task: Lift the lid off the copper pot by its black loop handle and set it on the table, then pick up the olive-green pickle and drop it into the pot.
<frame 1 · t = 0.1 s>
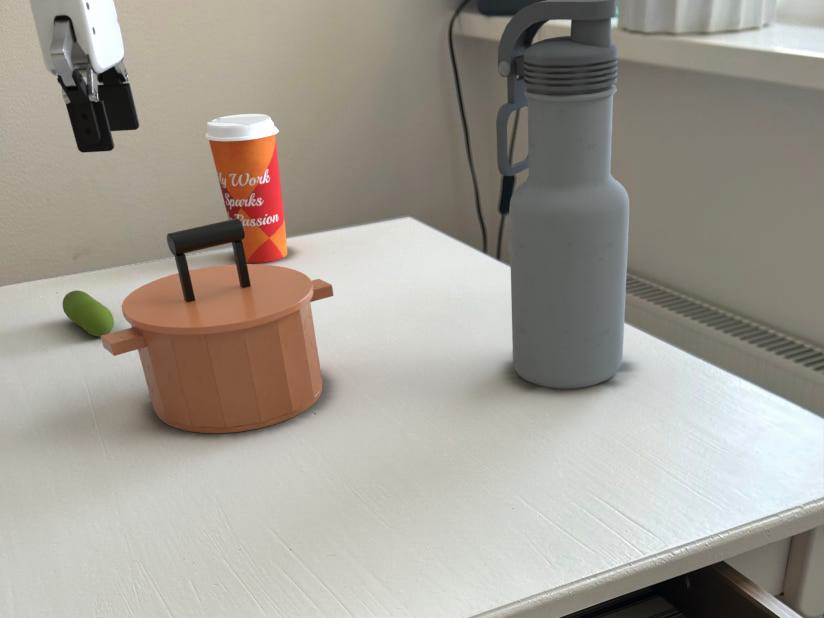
hand: (110, 140, 93), 17 cm above the table, tool pointing down, fingers open, 9 cm apart
lid: (219, 300, 81), point 8 cm above the table, touching pot
pickle: (92, 328, 102), on the table
water bottle: (565, 371, 88), on the table
coffee cup: (264, 257, 120), on the table
pot: (239, 396, 87), on the table
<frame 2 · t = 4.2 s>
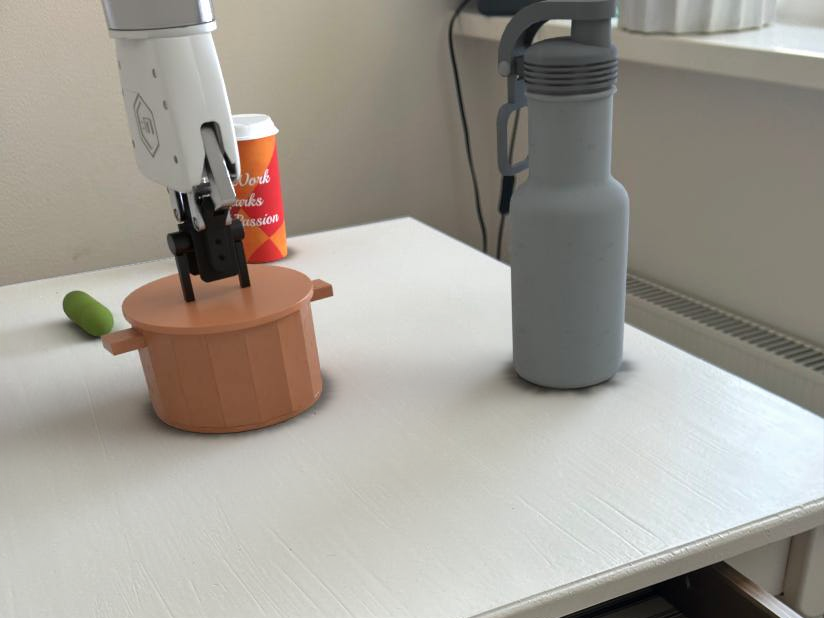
hand: (214, 273, 80), 11 cm above the table, tool pointing down, fingers closed on lid
lid: (219, 300, 81), point 8 cm above the table, touching gripper, pot
everything else where it was.
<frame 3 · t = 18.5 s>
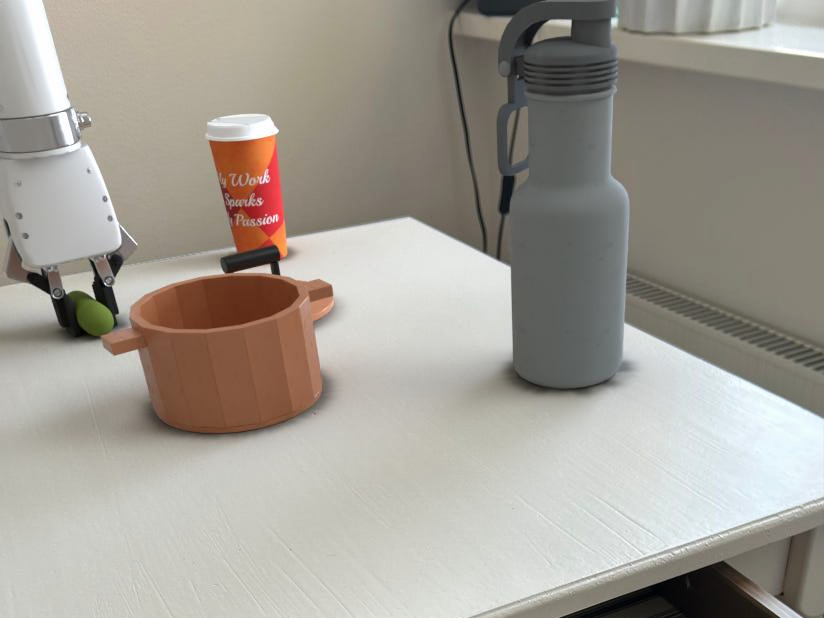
hand: (91, 326, 102), 0 cm above the table, tool pointing down, fingers closed on pickle, 3 cm apart
lid: (259, 309, 103), point 1 cm above the table
pickle: (92, 328, 102), on the table, touching gripper
everything else where it was.
when the fingers open (8 cm above the table, at t = 26.0 s): pickle drops 7 cm, resting on pot.
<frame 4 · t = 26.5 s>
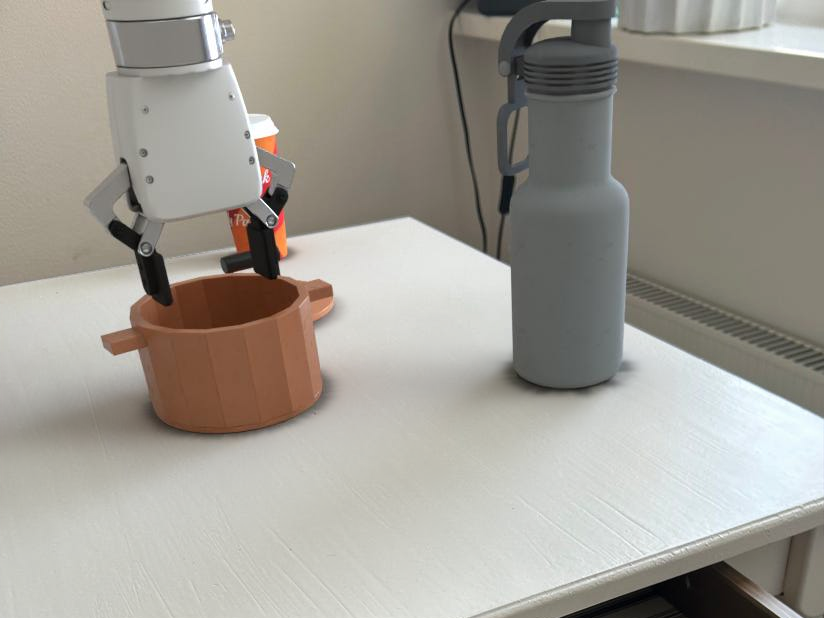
hand: (215, 288, 81), 10 cm above the table, tool pointing down, fingers open, 8 cm apart
pickle: (238, 391, 86), resting on pot
everything else where it was.
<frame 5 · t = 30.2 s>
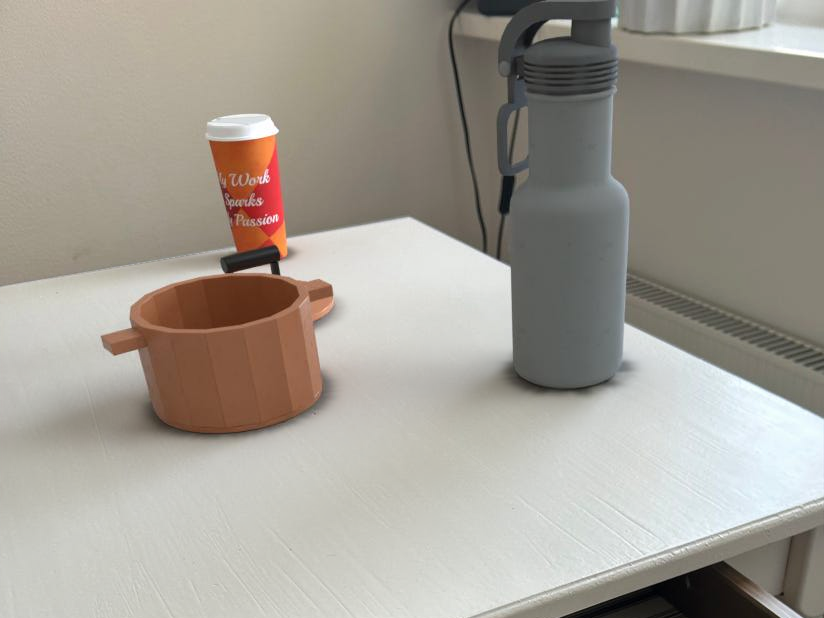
nothing on the table moved.
at the end: lid inside the target area (0.1 cm from its centre), point 0.6 cm above the table; pickle inside the target area in the pot (0.0 cm from its centre), point 0.5 cm above the pot's base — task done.
